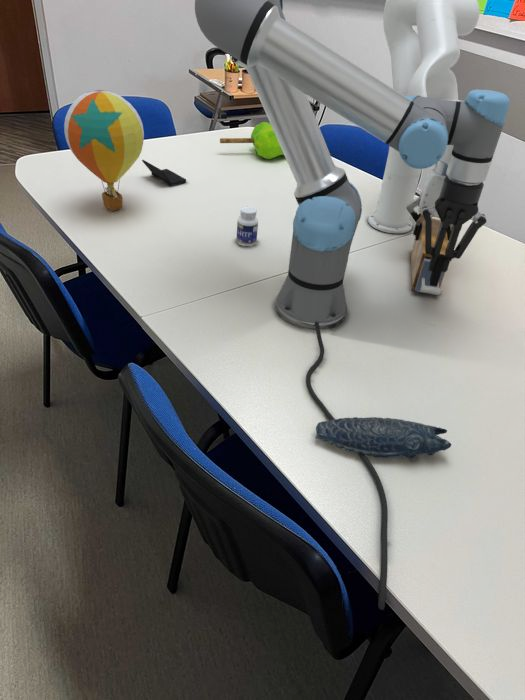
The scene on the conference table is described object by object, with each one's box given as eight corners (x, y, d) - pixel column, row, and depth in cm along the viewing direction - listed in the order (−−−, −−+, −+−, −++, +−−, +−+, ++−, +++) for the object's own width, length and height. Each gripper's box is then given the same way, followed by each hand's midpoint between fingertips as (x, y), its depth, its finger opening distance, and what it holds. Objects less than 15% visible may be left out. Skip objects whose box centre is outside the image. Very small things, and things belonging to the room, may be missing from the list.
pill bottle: (233, 243, 134) (234, 211, 128) (240, 235, 138) (242, 203, 132) (252, 248, 133) (254, 215, 127) (259, 239, 137) (261, 208, 131)
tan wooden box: (437, 294, 122) (450, 257, 116) (411, 290, 123) (422, 252, 116) (434, 255, 137) (445, 220, 131) (411, 251, 138) (421, 216, 131)
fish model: (449, 471, 80) (458, 449, 77) (314, 454, 81) (318, 432, 78) (442, 439, 86) (450, 418, 83) (315, 423, 87) (319, 401, 84)
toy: (64, 203, 145) (44, 85, 127) (127, 189, 156) (117, 79, 137) (97, 229, 134) (80, 105, 116) (162, 213, 145) (156, 96, 126)
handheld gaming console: (190, 175, 164) (173, 153, 156) (179, 193, 163) (161, 172, 155) (166, 170, 170) (147, 148, 162) (155, 188, 169) (136, 167, 161)
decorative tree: (217, 118, 187) (297, 118, 193) (217, 148, 194) (295, 147, 199) (223, 133, 174) (309, 132, 179) (223, 164, 180) (306, 163, 185)
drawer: (437, 307, 116) (447, 276, 111) (415, 303, 117) (424, 272, 112) (433, 257, 134) (442, 228, 129) (414, 254, 135) (422, 225, 130)
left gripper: (496, 176, 103) (461, 279, 118) (430, 168, 105) (403, 270, 120) (502, 190, 98) (464, 296, 112) (431, 181, 99) (403, 286, 114)
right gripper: (488, 168, 120) (464, 239, 131) (413, 157, 122) (395, 228, 133) (492, 179, 114) (466, 253, 125) (413, 168, 116) (395, 241, 128)
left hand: (433, 282), depth 116 cm, fingers closed
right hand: (430, 239), depth 129 cm, fingers closed on tan wooden box, 6 cm apart
